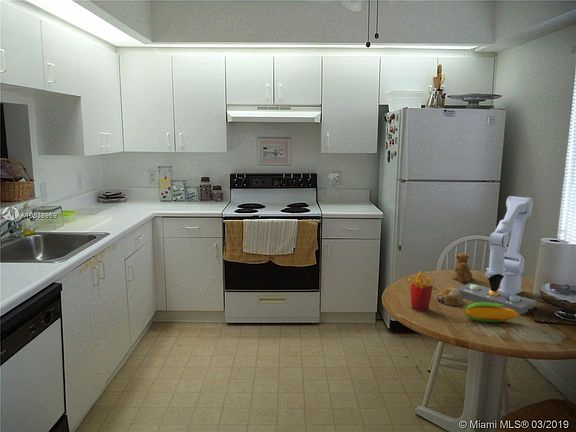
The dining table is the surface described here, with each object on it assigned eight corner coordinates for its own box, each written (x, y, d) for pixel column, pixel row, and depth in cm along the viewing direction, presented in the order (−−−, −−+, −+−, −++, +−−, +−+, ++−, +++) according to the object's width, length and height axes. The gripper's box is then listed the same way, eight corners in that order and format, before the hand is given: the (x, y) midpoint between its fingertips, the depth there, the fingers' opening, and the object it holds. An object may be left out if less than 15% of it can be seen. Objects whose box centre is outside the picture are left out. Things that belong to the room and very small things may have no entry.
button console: (469, 289, 221) (470, 282, 221) (535, 307, 198) (536, 300, 198) (453, 295, 212) (453, 288, 212) (520, 315, 190) (521, 307, 189)
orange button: (491, 295, 208) (491, 289, 207) (500, 298, 205) (500, 291, 204) (486, 297, 205) (487, 290, 205) (495, 300, 202) (496, 293, 202)
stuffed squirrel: (470, 277, 241) (472, 251, 239) (474, 285, 227) (477, 258, 225) (450, 275, 243) (451, 250, 241) (453, 283, 230) (455, 257, 227)
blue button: (511, 301, 201) (512, 294, 200) (521, 303, 198) (521, 297, 197) (507, 303, 198) (507, 296, 198) (516, 305, 195) (517, 299, 195)
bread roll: (458, 314, 199) (468, 299, 197) (436, 303, 200) (445, 287, 198) (455, 306, 208) (464, 291, 207) (433, 295, 210) (443, 280, 208)
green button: (472, 290, 215) (472, 284, 214) (480, 292, 212) (481, 286, 211) (467, 292, 212) (468, 285, 212) (475, 294, 209) (476, 287, 209)
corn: (463, 297, 186) (516, 300, 184) (461, 315, 188) (513, 318, 186) (467, 305, 179) (523, 308, 177) (466, 323, 181) (520, 326, 179)
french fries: (431, 309, 194) (434, 274, 192) (419, 313, 190) (421, 277, 187) (414, 303, 201) (416, 269, 199) (401, 307, 196) (403, 272, 194)
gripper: (496, 255, 210) (493, 285, 212) (479, 260, 201) (476, 291, 203) (511, 259, 205) (509, 289, 207) (495, 264, 195) (492, 295, 198)
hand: (494, 290), depth 205 cm, fingers closed
